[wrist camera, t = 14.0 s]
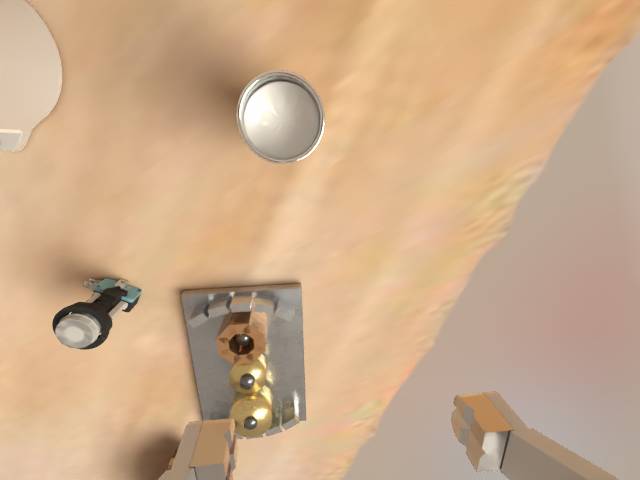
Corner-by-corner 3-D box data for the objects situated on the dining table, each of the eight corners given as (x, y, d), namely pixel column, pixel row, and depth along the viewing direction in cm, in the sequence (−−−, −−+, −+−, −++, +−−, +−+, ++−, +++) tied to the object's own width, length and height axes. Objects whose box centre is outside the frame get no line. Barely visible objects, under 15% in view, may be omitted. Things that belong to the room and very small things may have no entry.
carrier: (207, 422, 50) (196, 459, 44) (184, 290, 42) (168, 314, 36) (305, 412, 51) (308, 447, 45) (300, 283, 44) (303, 305, 38)
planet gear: (226, 346, 44) (220, 365, 40) (220, 309, 42) (214, 326, 38) (268, 342, 44) (267, 361, 41) (264, 306, 42) (263, 322, 39)
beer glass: (320, 143, 38) (341, 147, 24) (268, 164, 38) (258, 181, 24) (298, 84, 36) (307, 50, 21) (243, 107, 36) (215, 88, 22)
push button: (85, 294, 41) (25, 342, 31) (96, 260, 39) (37, 299, 30) (137, 311, 42) (94, 361, 33) (149, 279, 41) (108, 322, 32)
